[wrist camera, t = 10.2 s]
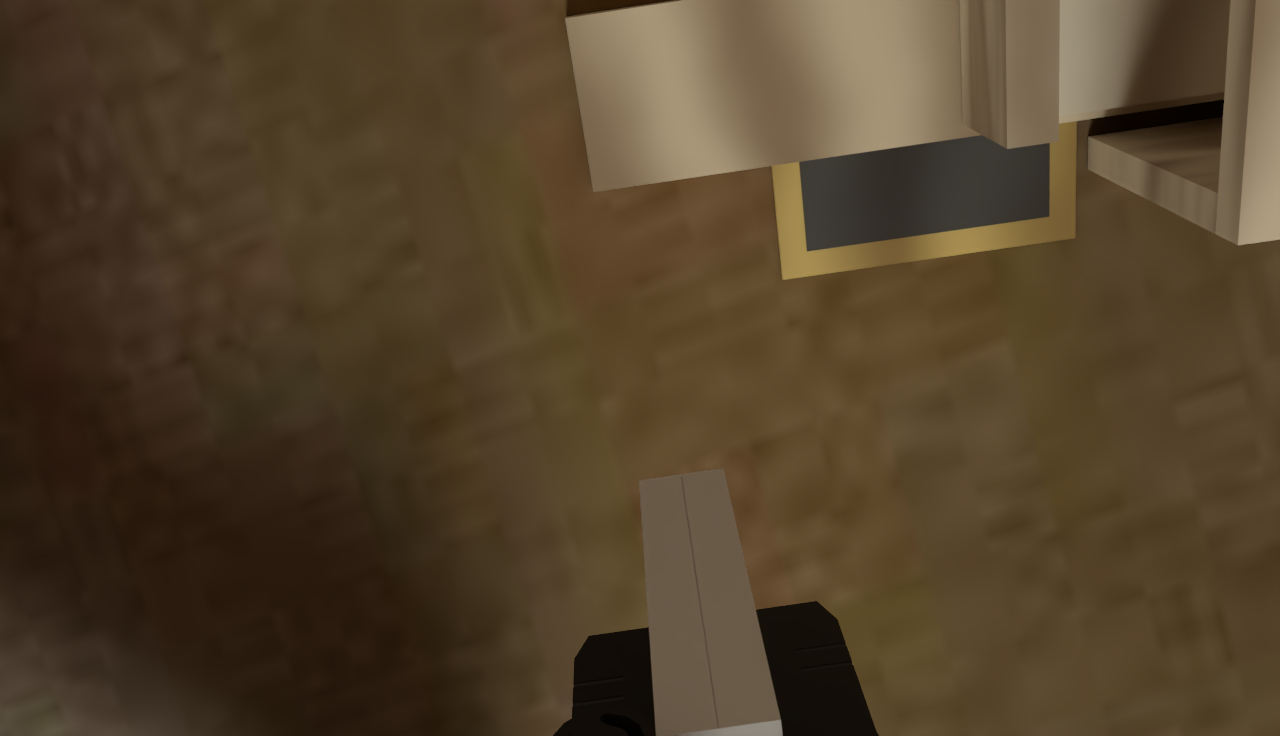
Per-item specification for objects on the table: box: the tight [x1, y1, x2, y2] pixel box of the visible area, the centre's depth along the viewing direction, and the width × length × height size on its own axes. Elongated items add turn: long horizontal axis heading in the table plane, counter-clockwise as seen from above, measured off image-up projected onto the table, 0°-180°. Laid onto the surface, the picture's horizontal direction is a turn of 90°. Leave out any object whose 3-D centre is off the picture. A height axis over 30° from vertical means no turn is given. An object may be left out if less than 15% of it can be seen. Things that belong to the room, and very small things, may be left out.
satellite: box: [565, 0, 1280, 280], centre depth 32 cm, size 40×15×10 cm, turn 98°
